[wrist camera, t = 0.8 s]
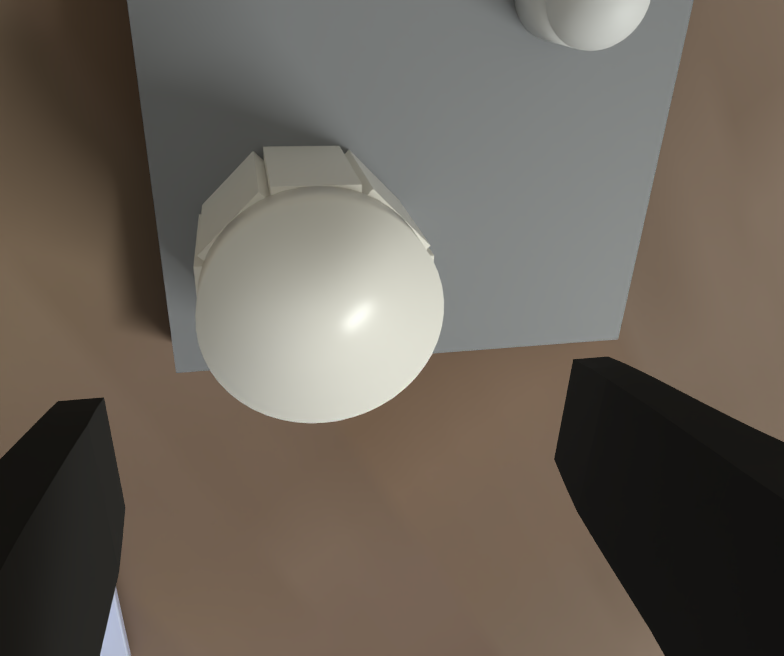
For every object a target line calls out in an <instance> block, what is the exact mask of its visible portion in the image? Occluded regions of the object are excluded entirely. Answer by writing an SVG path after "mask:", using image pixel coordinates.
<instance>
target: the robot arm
mask: <svg viewBox="0 0 784 656" xmlns="http://www.w3.org/2000/svg"><path fill="white" fill-rule="evenodd" d="M554 460H555V462H556V464H557V467H558V469H559V472H560V474H561V476H562V479H563V481H564V484H565V486H566V488H567V490H568V493H569V495H570V497H571V499H572V501H573V503H574V506H575V508H576V510H577V512H578V514H579V515H580V517H581V519H582V520H583V522H584V524H585V526H586V527H587V529H588V530H589V532H590V534H591V535H592V537H593V539H594V540H595V542H596V544H597V545H598V547H599V548H600V550H601V552H602V553H603V555H604V557H605V558H606V560H607V561H608V563H609V565H610V566H611V568H612V569H613V571H614V573H615V574H616V576H617V577H618V579H619V581H620V582H621V584H622V585H623V587H624V589H625V590H626V592H627V593H628V595H629V597H630V598H631V600H632V601H633V603H634V605H635V606H636V608H637V609H638V611H639V613H640V614H641V616H642V617H643V619H644V621H645V622H646V624H647V625H648V627H649V629H650V630H651V632H652V634H653V636H654V637H655V639H656V641H657V643H658V644H659V646H660V648H661V650H662V651H663V653H664V655H665V656H784V442H782V441H780V440H778V439H776V438H774V437H771V436H769V435H767V434H765V433H763V432H761V431H758V430H756V429H754V428H752V427H750V426H748V425H746V424H744V423H742V422H740V421H738V420H736V419H734V418H732V417H730V416H728V415H726V414H724V413H722V412H720V411H718V410H716V409H714V408H712V407H710V406H708V405H706V404H704V403H702V402H700V401H698V400H696V399H694V398H692V397H691V396H689V395H687V394H685V393H683V392H681V391H679V390H677V389H675V388H673V387H671V386H669V385H667V384H665V383H663V382H661V381H660V380H658V379H656V378H654V377H652V376H650V375H648V374H646V373H644V372H642V371H639V370H637V369H635V368H633V367H631V366H629V365H627V364H625V363H622V362H620V361H617V360H615V359H612V358H610V357H597V358H585V359H573V364H572V369H571V374H570V380H569V385H568V390H567V395H566V401H565V406H564V411H563V416H562V421H561V427H560V432H559V437H558V442H557V448H556V453H555V458H554ZM124 515H125V504H124V498H123V493H122V488H121V483H120V478H119V473H118V468H117V462H116V457H115V452H114V447H113V442H112V437H111V431H110V426H109V421H108V416H107V411H106V406H105V401H104V398H92V399H80V400H68V401H58V402H57V403H56V404H55V405H54V406H53V407H51V408H50V409H49V410H48V411H47V412H46V413H45V414H44V415H43V416H42V417H41V418H40V419H39V420H38V421H37V422H36V423H35V424H34V425H33V426H32V428H31V429H30V430H29V431H28V432H27V433H26V434H25V435H24V436H23V437H22V438H21V439H20V440H19V441H18V442H17V443H16V444H15V445H14V446H13V447H12V448H11V449H10V450H9V451H8V452H7V453H6V454H5V455H4V456H3V457H2V458H1V459H0V656H131V653H130V649H129V644H128V640H127V635H126V631H125V626H124V621H123V617H122V612H121V608H120V603H119V599H118V594H117V590H116V583H117V578H118V574H119V567H120V557H121V548H122V538H123V527H124Z"/></svg>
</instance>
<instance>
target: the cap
mask: <svg viewBox="0 0 784 656" xmlns="http://www.w3.org/2000/svg"><path fill="white" fill-rule="evenodd" d="M263 156H264V160H263V159H262V158H260V157H259V156H258V155H257V154H256V153H255V152H254V151H253V152H252V153H251V154H250V155H249V156H248V157H247V158H246V159H245V160H244V161H243V162H242V163H241V164H240V165H239V166H238V167H237V168H236V170H235V171H234V172H233V173H232V174H231V175H230V176H229V177H228V178H227V179H226V180H225V181H224V182H223V183H222V184H221V185H220V186H219V188H218V189H217V190H216V191H215V192H214V193H213V194H212V195H211V196H210V197H209V198H208V199H207V200H206V201H205V202H204V203H203V205H202V211H201V214H199V218H198V228H197V237H196V247H195V256H194V266H193V268H194V277H195V286H196V295H197V301H196V313H195V319H196V333H197V338H198V344H199V347H200V350H201V352H202V355H203V358H204V360H205V362H206V364H207V366H208V367H209V369H210V371H211V372H212V374H213V375H214V377H215V378H216V379H217V381H218V382H219V383H220V384H221V385H222V386H223V387H224V388H225V389H226V390H227V391H228V392H229V393H230V394H231V395H232V396H234V397H235V398H236V399H237V400H239V401H240V402H242V403H243V404H245V405H247V406H248V407H250V408H252V409H253V410H256V411H258V412H260V413H263V414H265V415H268V416H271V417H274V418H277V419H281V420H286V421H292V422H301V423H326V422H333V421H339V420H344V419H347V418H351V417H355V416H358V415H360V414H363V413H366V412H369V411H371V410H373V409H375V408H377V407H379V406H381V405H382V404H384V403H386V402H387V401H389V400H390V399H392V398H393V397H395V396H396V395H397V394H399V393H400V392H401V391H402V390H403V389H405V388H406V387H407V386H408V385H409V384H410V383H411V382H412V381H413V380H414V379H415V378H416V377H417V375H418V374H419V373H420V371H421V370H422V369H423V368H424V366H425V365H426V363H427V361H428V360H429V358H430V356H431V355H432V353H433V351H434V348H435V346H436V344H437V342H438V338H439V335H440V332H441V328H442V322H443V316H444V296H443V289H442V284H441V280H440V277H439V273H438V271H437V268H436V266H435V264H434V255H433V253H432V252H431V250H430V249H429V247H430V246H431V245H430V244H429V243H428V241H427V240H426V238H425V237H424V235H423V234H422V233H421V231H420V230H419V228H418V227H417V225H416V224H415V223H414V221H413V220H412V218H411V217H410V215H409V214H408V212H407V211H406V210H405V208H404V207H403V205H402V204H401V202H400V201H399V200H398V198H397V197H396V196H395V195H394V194H393V193H392V192H391V191H390V190H389V189H388V188H387V187H386V186H385V185H384V184H383V183H382V182H381V181H380V180H379V179H378V178H377V177H376V176H375V175H374V174H373V173H372V172H371V171H370V170H369V169H368V168H367V167H366V166H365V165H364V164H363V163H362V162H361V161H360V160H359V159H358V158H357V157H356V156H355V155H354V154H353V153H352V152H351V151H350V150H348V151H347V152H346V153H345V154H344V153H343V151H342V149H341V148H340V146H269V147H263Z"/></svg>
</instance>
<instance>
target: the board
mask: <svg viewBox="0 0 784 656" xmlns="http://www.w3.org/2000/svg"><path fill="white" fill-rule="evenodd" d="M127 4H128V12H129V19H130V27H131V35H132V42H133V50H134V57H135V65H136V72H137V80H138V88H139V95H140V103H141V110H142V118H143V125H144V133H145V141H146V148H147V156H148V163H149V171H150V178H151V186H152V194H153V201H154V209H155V216H156V224H157V231H158V239H159V247H160V254H161V262H162V269H163V277H164V284H165V292H166V300H167V307H168V315H169V322H170V330H171V337H172V345H173V353H174V360H175V368H176V373H181V372H194V371H207V370H210V369H209V367H208V366H207V364H206V362H205V360H204V358H203V355H202V352H201V350H200V347H199V344H198V338H197V333H196V319H195V313H196V301H197V295H196V286H195V277H194V268H193V266H194V256H195V247H196V237H197V228H198V218H199V214H201V211H202V205H203V203H204V202H205V201H206V200H207V199H208V198H209V197H210V196H211V195H212V194H213V193H214V192H215V191H216V190H217V189H218V188H219V186H220V185H221V184H222V183H223V182H224V181H225V180H226V179H227V178H228V177H229V176H230V175H231V174H232V173H233V172H234V171H235V170H236V168H237V167H238V166H239V165H240V164H241V163H242V162H243V161H244V160H245V159H246V158H247V157H248V156H249V155H250V154H251V153H252V152H253V151H254V152H255V153H256V154H257V155H258V156H259V157H260V158H262V159H263V160H264V156H263V147H269V146H340V148H341V149H342V151H343V153H344V154H345V153H346V152H347V151H348V150H350V151H351V152H352V153H353V154H354V155H355V156H356V157H357V158H358V159H359V160H360V161H361V162H362V163H363V164H364V165H365V166H366V167H367V168H368V169H369V170H370V171H371V172H372V173H373V174H374V175H375V176H376V177H377V178H378V179H379V180H380V181H381V182H382V183H383V184H384V185H385V186H386V187H387V188H388V189H389V190H390V191H391V192H392V193H393V194H394V195H395V196H396V197H397V198H398V200H399V201H400V202H401V204H402V205H403V207H404V208H405V210H406V211H407V212H408V214H409V215H410V217H411V218H412V220H413V221H414V223H415V224H416V225H417V227H418V228H419V230H420V231H421V233H422V234H423V235H424V237H425V238H426V240H427V241H428V243H429V244H430V245H431V246H430V247H429V249H430V250H431V252H432V253H433V255H434V264H435V266H436V268H437V271H438V273H439V277H440V280H441V284H442V289H443V296H444V316H443V322H442V328H441V332H440V335H439V338H438V342H437V344H436V346H435V348H434V351H433V353H443V352H457V351H470V350H483V349H496V348H509V347H522V346H535V345H549V344H562V343H575V342H588V341H601V340H614V339H618V337H619V332H620V328H621V323H622V319H623V314H624V310H625V305H626V301H627V296H628V292H629V287H630V283H631V278H632V274H633V269H634V265H635V261H636V256H637V252H638V247H639V243H640V238H641V234H642V229H643V225H644V220H645V216H646V211H647V207H648V202H649V198H650V193H651V189H652V184H653V180H654V175H655V171H656V166H657V162H658V157H659V153H660V148H661V144H662V139H663V135H664V130H665V126H666V121H667V117H668V112H669V108H670V104H671V99H672V95H673V90H674V86H675V81H676V77H677V72H678V68H679V63H680V59H681V54H682V50H683V45H684V41H685V36H686V32H687V27H688V23H689V18H690V14H691V9H692V5H693V0H127Z"/></svg>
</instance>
